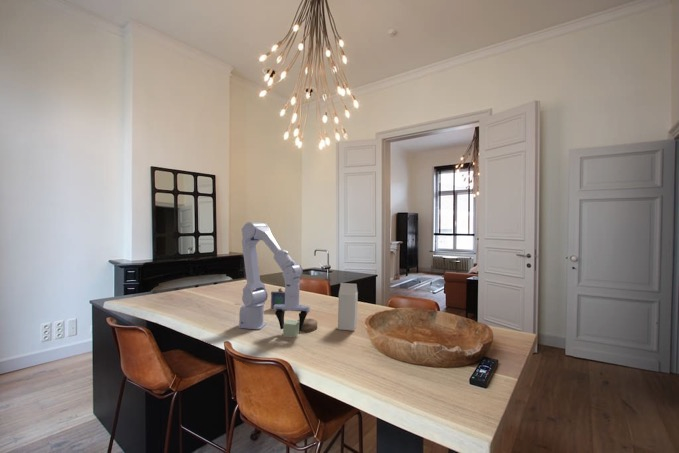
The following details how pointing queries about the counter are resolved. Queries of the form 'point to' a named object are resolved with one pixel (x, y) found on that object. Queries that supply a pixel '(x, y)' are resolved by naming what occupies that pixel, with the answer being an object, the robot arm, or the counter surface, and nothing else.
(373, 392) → the counter surface
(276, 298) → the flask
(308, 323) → the base
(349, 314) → the milk carton
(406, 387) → the counter surface
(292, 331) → the cube
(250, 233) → the robot arm
